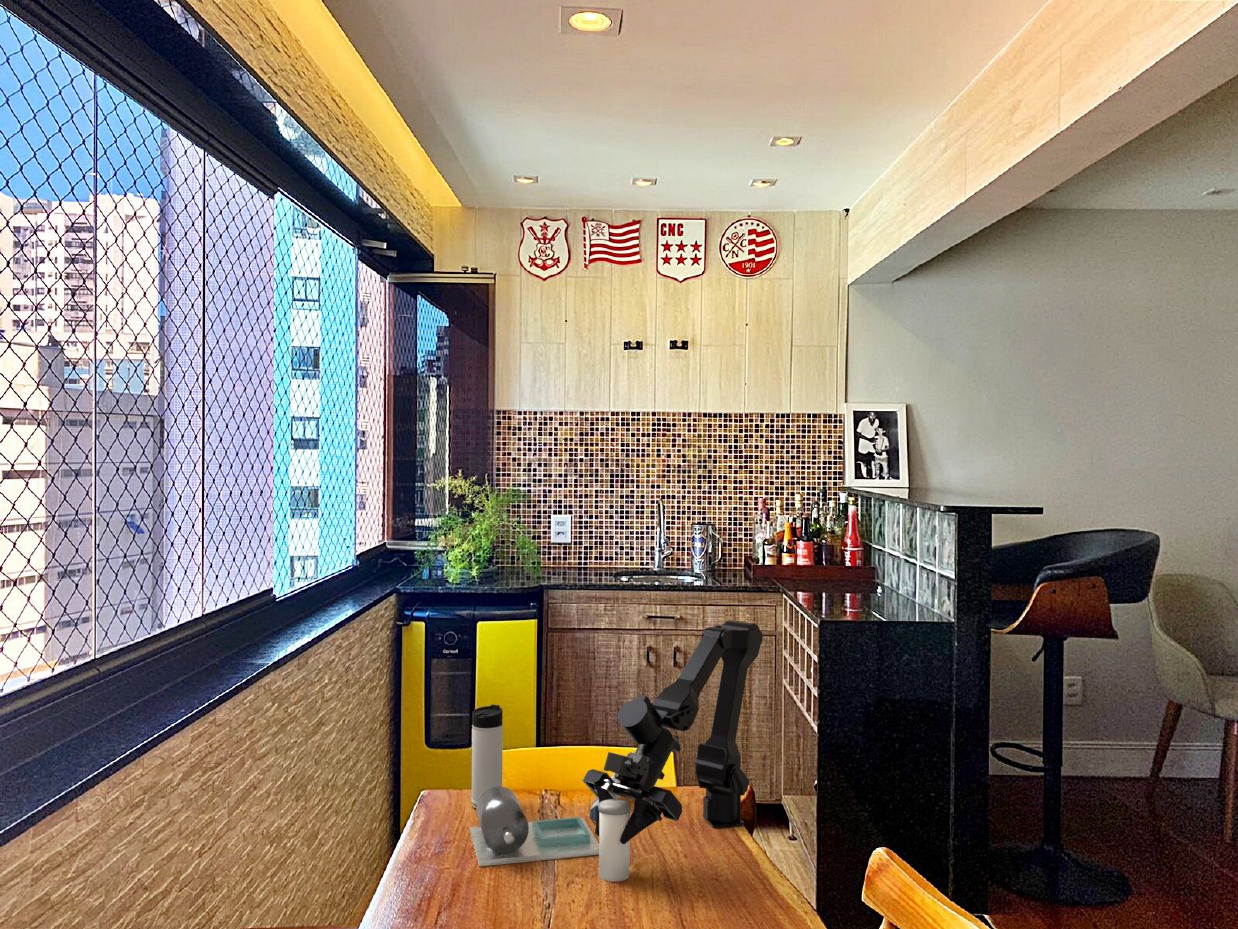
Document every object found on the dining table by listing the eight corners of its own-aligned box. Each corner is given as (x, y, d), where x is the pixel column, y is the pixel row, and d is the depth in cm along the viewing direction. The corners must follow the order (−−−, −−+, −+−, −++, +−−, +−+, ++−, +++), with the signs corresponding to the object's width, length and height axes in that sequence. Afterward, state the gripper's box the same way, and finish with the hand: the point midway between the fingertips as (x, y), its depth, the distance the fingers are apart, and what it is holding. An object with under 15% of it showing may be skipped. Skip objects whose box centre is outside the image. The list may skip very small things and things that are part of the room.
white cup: (625, 867, 165) (626, 797, 166) (634, 880, 160) (634, 809, 160) (594, 870, 164) (594, 800, 164) (602, 883, 159) (602, 811, 159)
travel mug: (508, 802, 197) (509, 706, 197) (491, 813, 191) (492, 713, 191) (483, 798, 200) (483, 703, 200) (465, 808, 194) (466, 710, 194)
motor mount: (582, 822, 186) (583, 776, 186) (604, 858, 169) (604, 808, 169) (469, 832, 181) (470, 785, 181) (480, 871, 163) (480, 819, 163)
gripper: (589, 724, 171) (546, 801, 163) (672, 743, 159) (630, 828, 151) (617, 757, 177) (577, 834, 169) (699, 779, 165) (660, 862, 157)
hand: (609, 838), depth 161 cm, fingers closed on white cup, 5 cm apart
